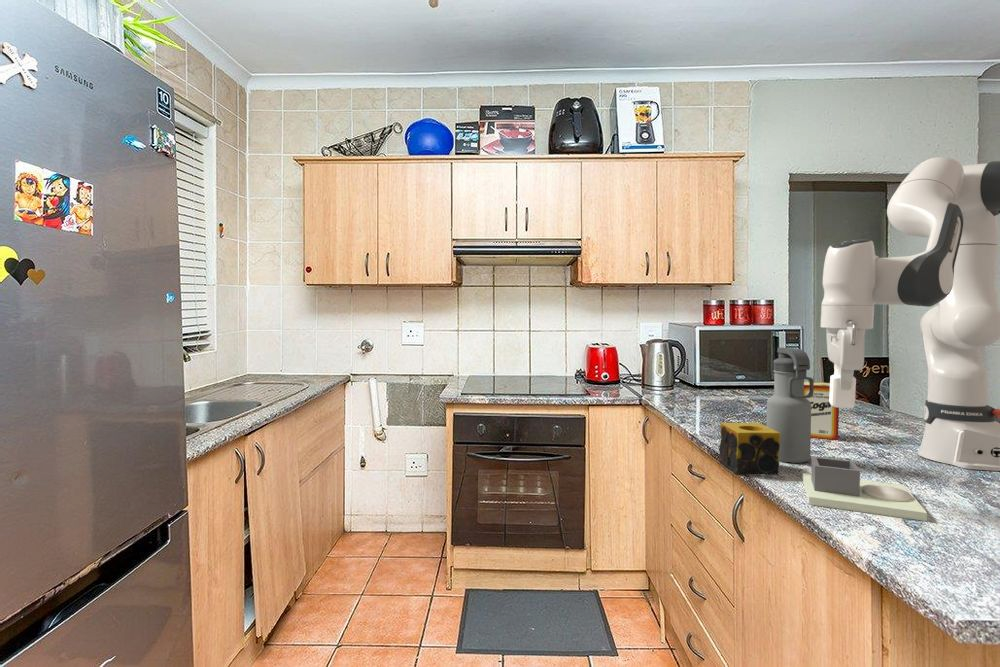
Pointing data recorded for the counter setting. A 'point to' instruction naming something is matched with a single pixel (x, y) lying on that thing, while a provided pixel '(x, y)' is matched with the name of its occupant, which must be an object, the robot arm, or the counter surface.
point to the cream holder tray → (857, 491)
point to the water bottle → (791, 405)
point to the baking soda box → (822, 412)
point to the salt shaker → (841, 391)
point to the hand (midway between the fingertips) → (843, 387)
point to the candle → (749, 448)
